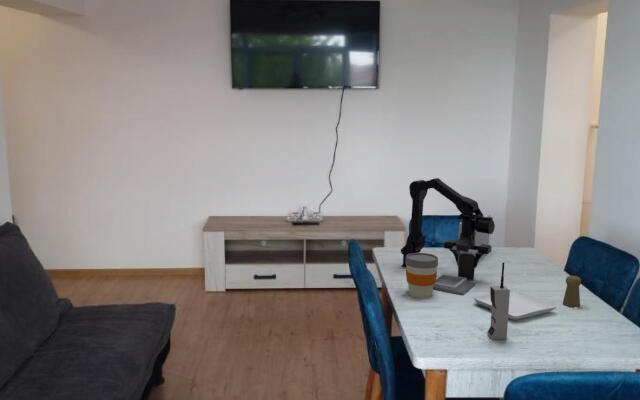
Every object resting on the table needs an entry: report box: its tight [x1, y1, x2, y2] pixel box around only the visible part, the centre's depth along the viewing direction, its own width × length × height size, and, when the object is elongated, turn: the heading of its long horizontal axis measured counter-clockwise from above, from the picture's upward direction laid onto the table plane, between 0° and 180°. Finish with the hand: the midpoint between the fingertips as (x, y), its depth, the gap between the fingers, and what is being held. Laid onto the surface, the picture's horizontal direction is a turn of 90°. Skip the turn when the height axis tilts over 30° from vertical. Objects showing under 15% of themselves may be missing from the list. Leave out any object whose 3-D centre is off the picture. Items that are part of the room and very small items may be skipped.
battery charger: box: [457, 253, 476, 281], centre depth 240 cm, size 7×4×11 cm, turn 82°
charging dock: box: [433, 273, 476, 296], centre depth 231 cm, size 18×15×2 cm
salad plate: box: [472, 288, 557, 320], centre depth 207 cm, size 21×21×3 cm
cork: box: [562, 275, 582, 309], centre depth 210 cm, size 6×6×11 cm
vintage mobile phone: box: [486, 262, 510, 341], centre depth 180 cm, size 4×5×25 cm
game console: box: [458, 213, 491, 260], centre depth 268 cm, size 6×27×20 cm, turn 145°
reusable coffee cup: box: [405, 252, 439, 299], centre depth 221 cm, size 12×13×15 cm
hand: (466, 266), depth 240 cm, fingers closed on battery charger, 7 cm apart
